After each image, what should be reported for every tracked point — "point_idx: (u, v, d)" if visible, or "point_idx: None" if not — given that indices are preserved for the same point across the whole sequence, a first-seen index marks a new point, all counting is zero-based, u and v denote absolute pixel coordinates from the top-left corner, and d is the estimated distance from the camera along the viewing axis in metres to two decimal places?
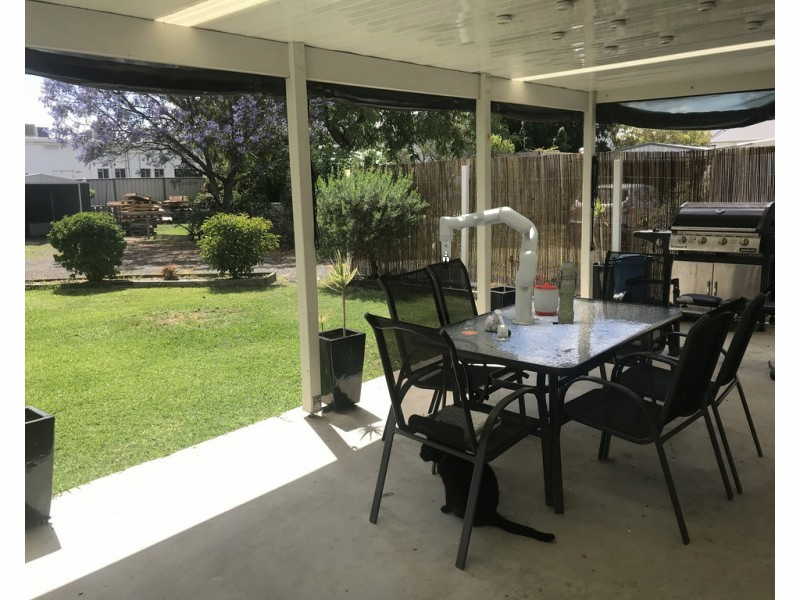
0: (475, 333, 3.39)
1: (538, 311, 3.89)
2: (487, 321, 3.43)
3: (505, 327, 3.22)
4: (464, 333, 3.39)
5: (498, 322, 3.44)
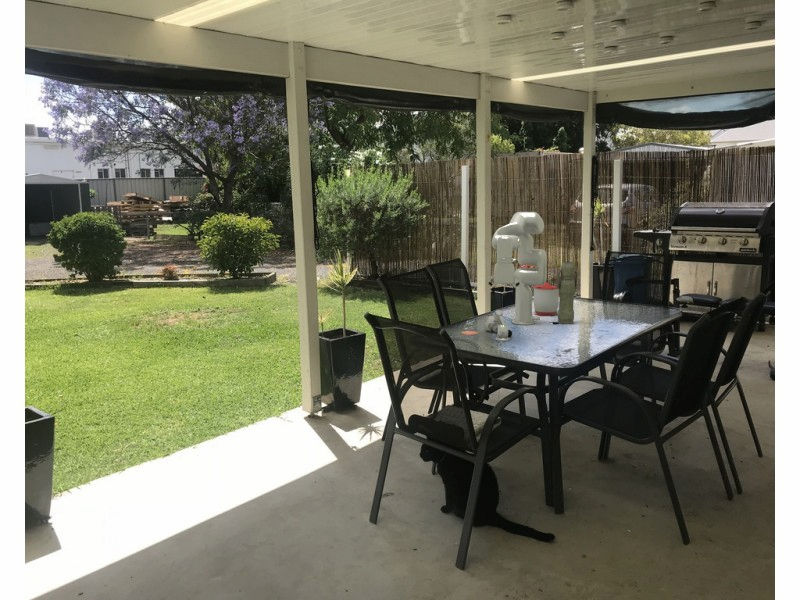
0: (475, 333, 3.39)
1: (538, 311, 3.89)
2: (488, 321, 3.42)
3: (505, 327, 3.22)
4: (464, 333, 3.39)
5: (499, 322, 3.43)
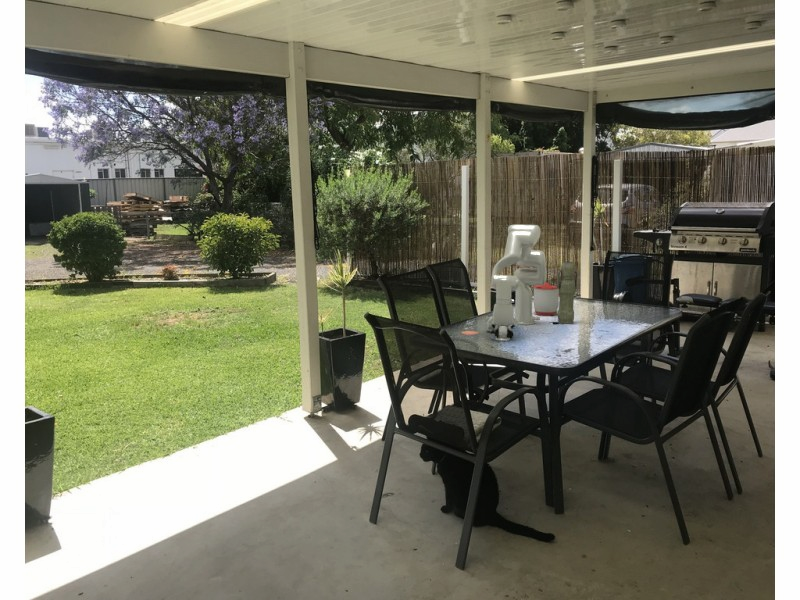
0: (475, 333, 3.39)
1: (538, 311, 3.89)
2: None
3: (505, 327, 3.22)
4: (464, 333, 3.39)
5: None
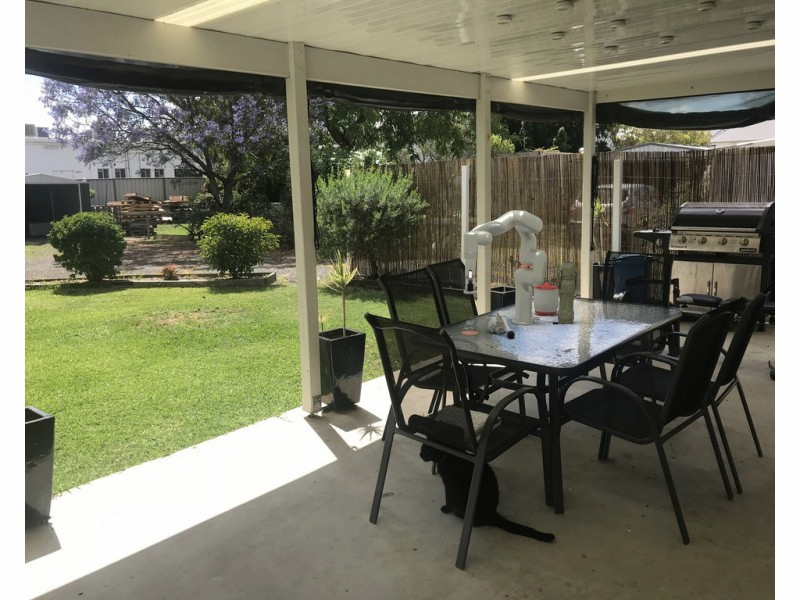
0: (475, 333, 3.39)
1: (538, 311, 3.89)
2: (490, 323, 3.39)
3: None
4: (464, 333, 3.39)
5: (501, 323, 3.40)
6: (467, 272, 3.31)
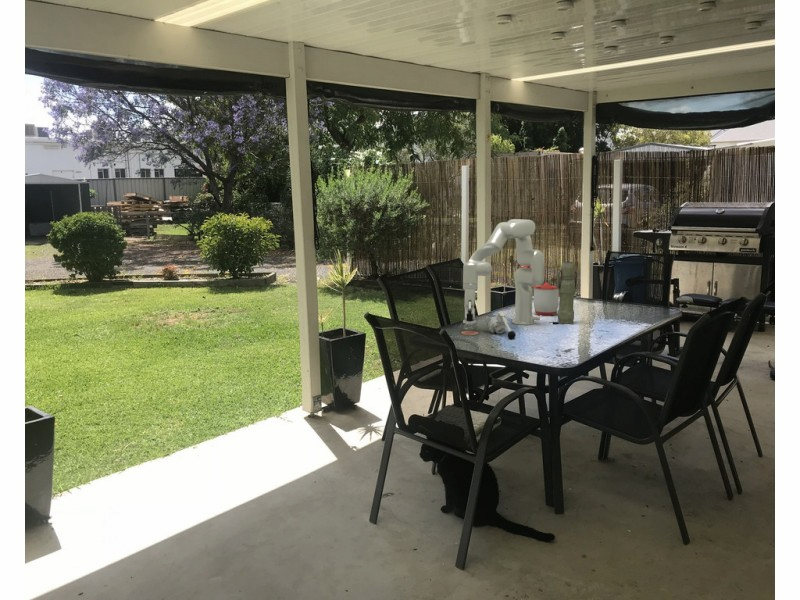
0: (475, 333, 3.39)
1: (538, 311, 3.89)
2: (491, 323, 3.39)
3: None
4: (464, 333, 3.39)
5: (502, 324, 3.39)
6: (466, 302, 3.34)
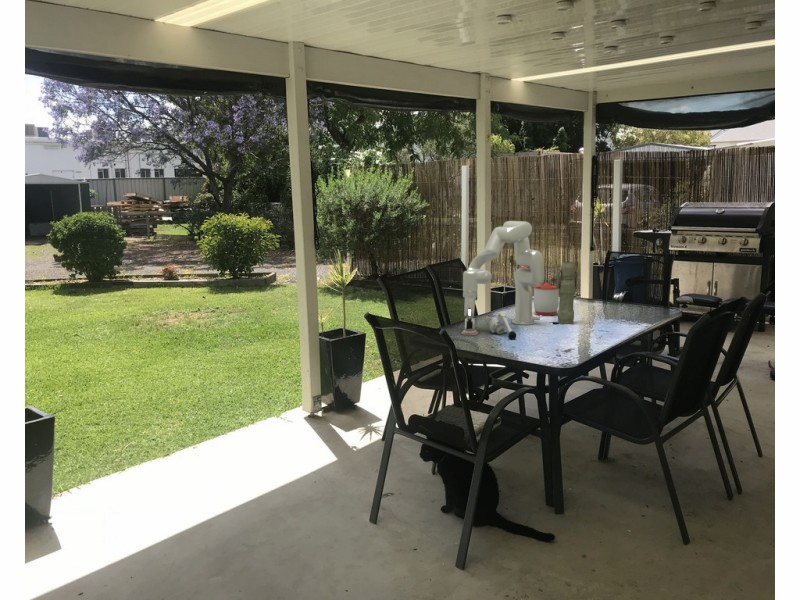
0: (475, 333, 3.39)
1: (538, 311, 3.89)
2: (491, 323, 3.38)
3: None
4: (464, 333, 3.39)
5: (502, 324, 3.39)
6: (466, 310, 3.35)
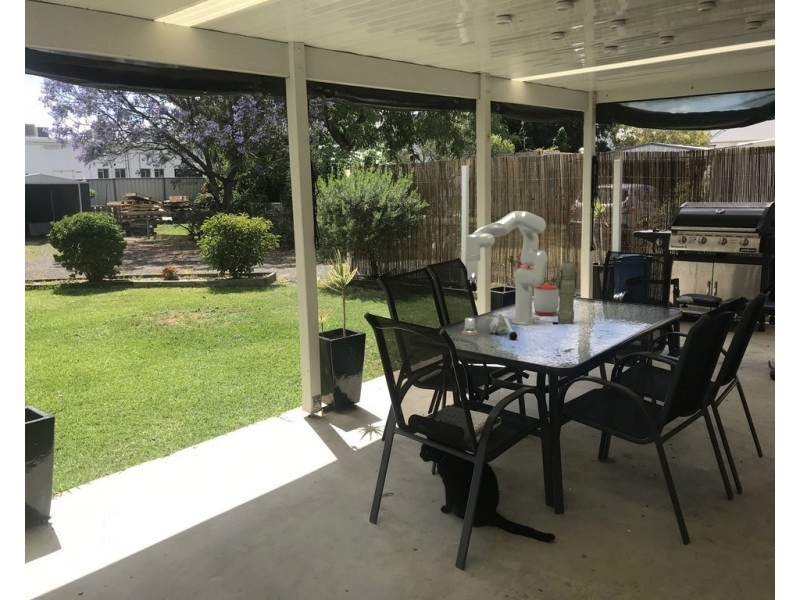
0: (475, 333, 3.39)
1: (538, 311, 3.89)
2: (492, 323, 3.37)
3: None
4: (464, 333, 3.39)
5: (503, 324, 3.38)
6: (470, 274, 3.34)
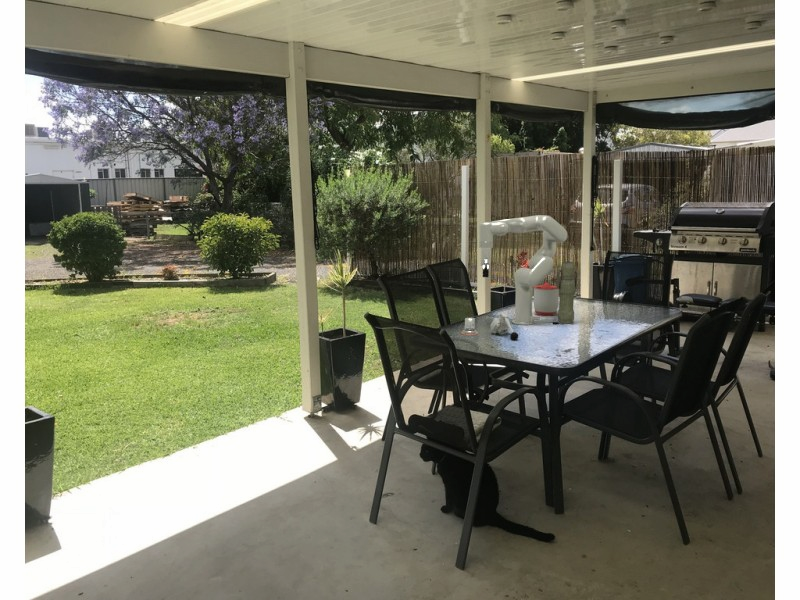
0: (475, 333, 3.39)
1: (538, 311, 3.89)
2: (493, 324, 3.36)
3: None
4: (464, 333, 3.39)
5: (504, 325, 3.37)
6: (483, 260, 3.48)
